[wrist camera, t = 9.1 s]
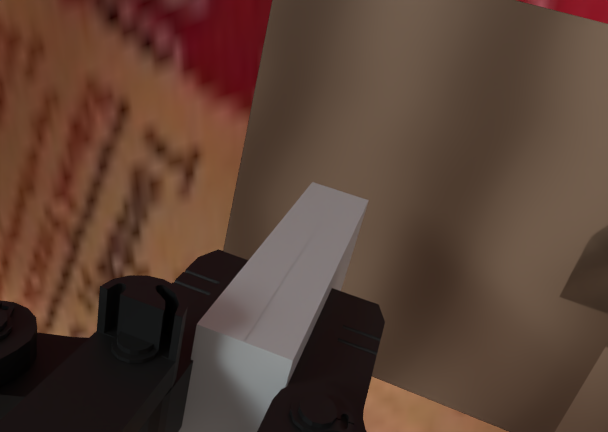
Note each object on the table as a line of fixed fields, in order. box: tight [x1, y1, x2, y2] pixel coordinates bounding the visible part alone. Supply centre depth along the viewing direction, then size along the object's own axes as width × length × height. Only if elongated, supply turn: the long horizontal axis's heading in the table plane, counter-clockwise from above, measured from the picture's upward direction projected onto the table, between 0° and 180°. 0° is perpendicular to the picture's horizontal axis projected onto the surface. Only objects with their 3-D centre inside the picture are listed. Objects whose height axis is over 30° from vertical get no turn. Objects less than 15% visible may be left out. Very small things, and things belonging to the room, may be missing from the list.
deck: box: [223, 0, 608, 432], centre depth 18 cm, size 22×14×2 cm, turn 76°
